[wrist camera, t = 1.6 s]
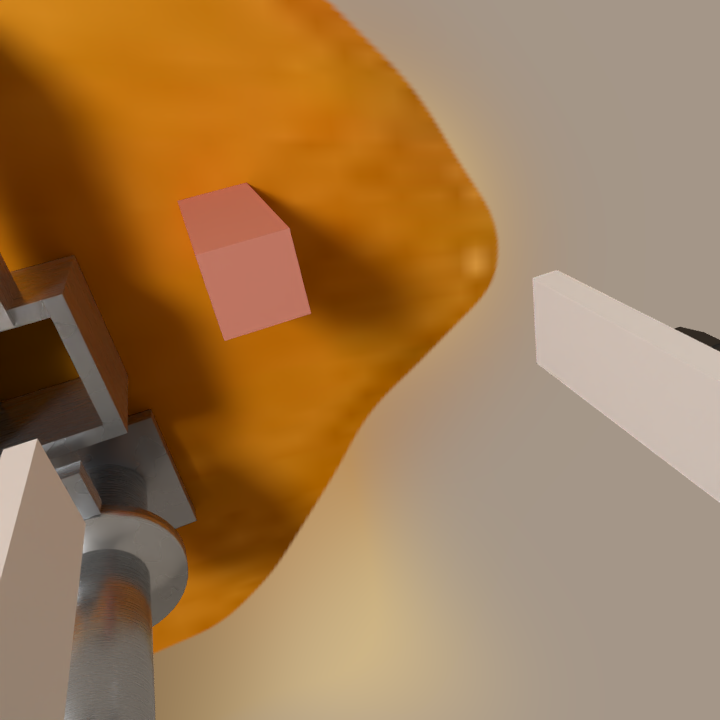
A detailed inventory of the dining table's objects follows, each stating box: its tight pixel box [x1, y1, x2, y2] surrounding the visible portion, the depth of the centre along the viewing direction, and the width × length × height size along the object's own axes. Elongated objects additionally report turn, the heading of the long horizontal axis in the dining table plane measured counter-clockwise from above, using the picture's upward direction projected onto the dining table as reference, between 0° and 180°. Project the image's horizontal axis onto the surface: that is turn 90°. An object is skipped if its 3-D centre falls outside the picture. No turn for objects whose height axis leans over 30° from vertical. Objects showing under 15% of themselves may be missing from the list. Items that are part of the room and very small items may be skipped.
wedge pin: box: [178, 183, 311, 341], centre depth 27 cm, size 4×4×10 cm
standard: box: [49, 409, 197, 720], centre depth 27 cm, size 8×10×20 cm
